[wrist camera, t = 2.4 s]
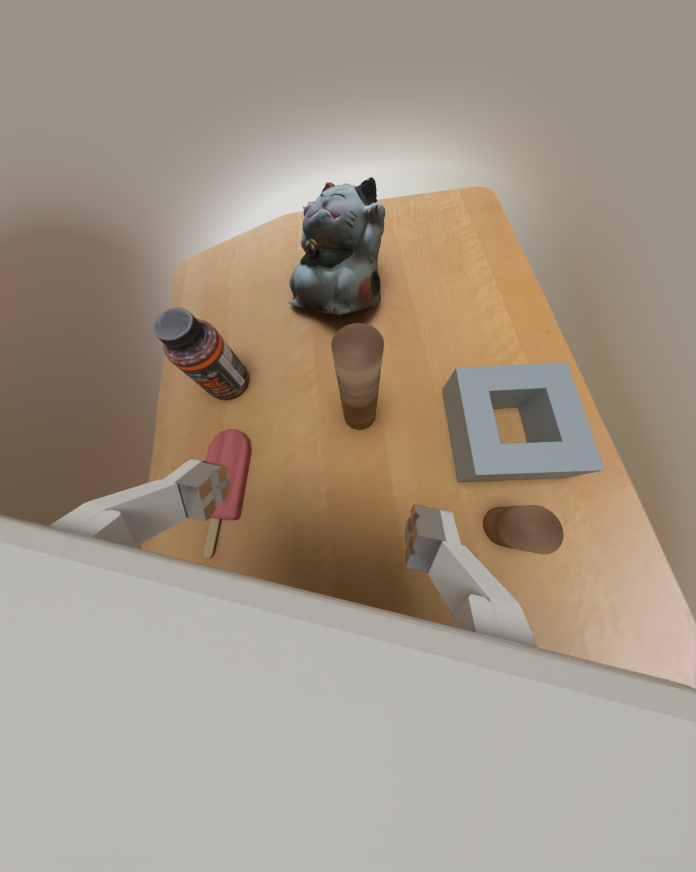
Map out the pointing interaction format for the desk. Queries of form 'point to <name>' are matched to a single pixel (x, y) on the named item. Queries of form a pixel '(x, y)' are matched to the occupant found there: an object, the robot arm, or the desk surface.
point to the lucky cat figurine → (340, 250)
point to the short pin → (524, 528)
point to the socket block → (541, 415)
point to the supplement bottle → (201, 353)
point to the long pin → (358, 371)
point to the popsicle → (235, 456)
